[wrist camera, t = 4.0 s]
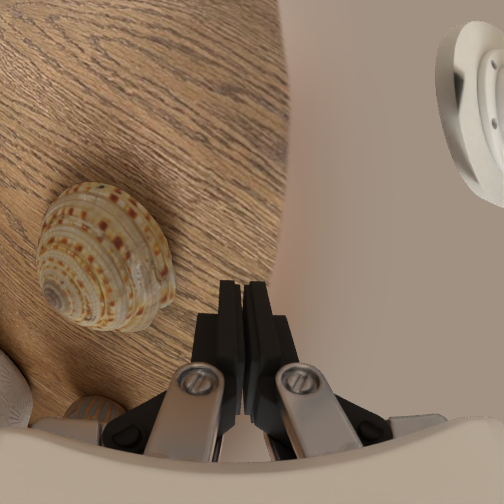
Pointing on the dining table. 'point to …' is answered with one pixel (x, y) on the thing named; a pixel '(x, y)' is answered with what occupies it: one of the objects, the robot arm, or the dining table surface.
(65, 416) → the vase
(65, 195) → the seashell
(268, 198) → the dining table surface
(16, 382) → the planter
